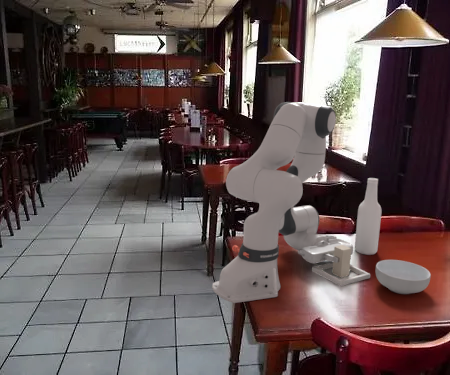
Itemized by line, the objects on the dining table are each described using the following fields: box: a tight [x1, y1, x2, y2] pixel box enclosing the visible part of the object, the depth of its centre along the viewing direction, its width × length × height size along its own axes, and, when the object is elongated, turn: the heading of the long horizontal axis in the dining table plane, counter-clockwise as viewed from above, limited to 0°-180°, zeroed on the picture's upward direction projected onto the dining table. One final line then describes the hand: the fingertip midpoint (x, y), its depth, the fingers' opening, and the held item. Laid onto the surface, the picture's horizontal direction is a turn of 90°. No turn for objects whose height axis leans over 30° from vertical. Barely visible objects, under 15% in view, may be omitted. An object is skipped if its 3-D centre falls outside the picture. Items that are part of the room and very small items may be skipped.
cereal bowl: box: [374, 259, 432, 295], centre depth 143 cm, size 17×17×7 cm
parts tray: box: [311, 261, 371, 287], centre depth 153 cm, size 14×14×2 cm
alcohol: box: [354, 177, 383, 256], centre depth 173 cm, size 9×9×30 cm
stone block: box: [331, 245, 352, 278], centre depth 152 cm, size 4×4×10 cm
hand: (343, 259), depth 151 cm, fingers closed on stone block, 4 cm apart
